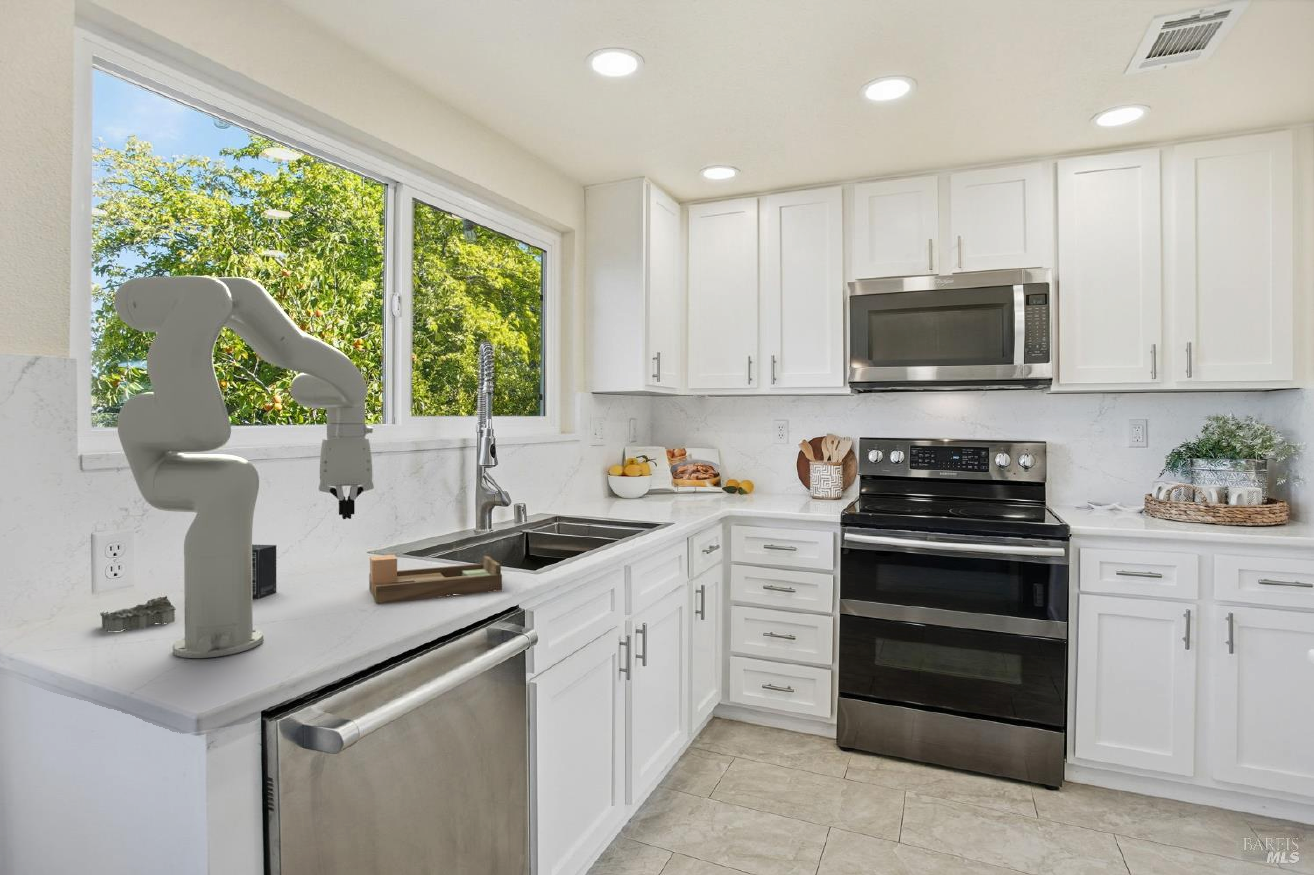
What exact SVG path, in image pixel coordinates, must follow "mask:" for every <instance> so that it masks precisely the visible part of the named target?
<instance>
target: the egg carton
mask: <svg viewBox="0 0 1314 875" xmlns="http://www.w3.org/2000/svg"><path fill="white" fill-rule="evenodd" d="M176 610H177V608H176V607H175V606H174V605H172V603H171V601H170V600H169V598H168V596H167V595H165V596H159V597H156V598H153V599H150V600H147V602H146V603H145V604H144V603H143V604H137V605H136V606H134V607H130V608H122V609H119V610H116V611H113V612H112V611H111V612H109V611H107V612H104V611H102V612H100V613H99V614H100V615H99V616H100V617H101V629H104V632H105V631H106V632H105V633H109V632H108V631H121V630H123V629H126V630H129V629H128V628H131V629H139V628H140V629H144V627H146V628H148V627H149V626H148V625H150V624H155V623H161V624H160V625H162V624H164V623H169V622H170V623H172V622H171V621H173V622H175V620H176V619H175V618H176V616H175V613H176V612H175V611H176ZM170 623H169V624H170ZM155 625H156V624H155ZM164 625H165V624H164ZM150 626H151V625H150Z"/></svg>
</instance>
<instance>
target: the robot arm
mask: <svg viewBox="0 0 1314 875" xmlns="http://www.w3.org/2000/svg"><path fill="white" fill-rule="evenodd" d="M113 303H114V304H113V305H114V308H115V312H116V314H117V316H118V317H119V318H120V320H121V321H122V322H123V323H125V325H127V326H128V327H130V328H131V329H133V330H136V331H140V332H143V333H156V335H155V336H154V338H153V340H152V342H151V344H150V347H149V349H148V352H147V355H146V356H147V358H146V370H147V374H148V377H149V382H150V384H151V389H152V391H148V392H142V393H141V392H140V393H138V394H135V395H133V396H132V397H130V398H128V399H127V400H126V401H125V403H123V404H122V407H121V408H120V411H119V413H118V417H117V425H116V426H117V433H118V438H119V441H120V444H121V447H122V450H123V452H124V454H125V457H126V460H127V463H128V465H129V467H130V470H131V472H132V475H133V477H134V480H135V482H136V485H137V488H138V490H139V492H140V494H141V495H142V498H143V499H144V500H145V502H147V503H148V504H149V505H150V506H151V507H153V508H155V509H157V510H159V511H166V512H175V513H177V512H179V513H196V515H195V517H194V519H193V521H192V522H191V524H190V526H189V527H188V530H187V532H186V534H185V538H184V543H183V556H184V559H183V561H184V563H183V564H184V568H183V569H184V572H183V573H184V574H183V578H184V584H183V585H184V588H183V589H184V637H183V638H181V639H179V640H178V641H176V642H175V643H174V644H173V646H172V654H174V655H175V656H177V657H180V658H185V659H206V658H216V657H217V658H218V657H222V656H223V657H224V656H229V655H235V654H238V653H241V652H245V651H249V650H251V649H253V648H254V649H255V648H256V647H258V646H259V645H260V644H262V642H263V641H264V634H263V632H262V631H260V630H258V629H254V628H253V623H254V622H253V598H252V545H253V525H254V522H253V521H254V514H255V513H254V512H255V509H256V503H257V499H258V496H259V495H258V494H259V490H260V477H259V473H258V471H257V469H256V467H255V466H254V465H253V464H252V463H251V462H250V461H249V460H247V459H244V458H242V457H240V456H237V455H233V454H219V453H218V454H215V453H214V454H212V453H211V454H210V453H200V452H210V451H214V450H218V449H220V448H221V447H224V446H225V445H226V444H227V443H228V442H229V440H230V438H231V434H232V426H231V420H230V417H229V412H228V410H227V406H226V402H225V400H224V397H223V394H222V390H221V388H220V384H219V381H218V377H217V373H216V370H215V366H214V358H213V356H214V349H215V346H216V342H217V340H218V338H219V336H220V334H221V332H222V330H223V329H224V328H226V329H227V328H228V329H231V330H232V331H233V332H234V333H236V335H237V336H239V337H240V339H242V341H243V342H245V343H246V344H247V346H249V347H250V348H251V350H253V351H254V353H255V354H256V355H258V356H259V358H260V359H262V361H264V362H266V363H267V364H269V365H272V366H275V367H277V368H281V369H284V370H289V371H293V372H297V373H298V374H297V375H296V376H294V377H293V379H292V381H291V382H290V385H289V386H290V388H289V392H290V394H291V395H290V396H291V398H292V399H293V400H294V402H295V403H296V404H298V405H299V406H301V407H304V408H307V409H309V408H310V409H326V438H323V439H322V442H321V447H320V454H319V455H320V456H319V457H320V458H319V460H320V461H319V481H320V482H319V486H318V491H319V492H323V493H329V494H332V495H333V497H335V498H336V499H337V500H338V515H339V516H341V517H342V520H347V519H348V520H350V519H352V515H355V508H356V507H355V500H356V499H357V498H358V497H359V496H360V495H361V494H362V493H363V492H367V491H370V490H373V489H374V488H375V487H374V483H373V460H372V459H373V458H372V452H371V451H372V450H371V443H370V440H369V438H366V436H367V435H369V434H373V429H374V428H373V426H367V425H366V398H367V396H368V385H367V383H366V380H365V378H364V376H363V374H362V373H361V371H360V369H359V368H358V367H357V366H356V365H355V364H354V362H353V361H352V360H351V359H350V358H349V356H347V355H346V354H345V353H344V352H342V351H340V350H339V349H338V348H335V347H334V346H332V345H330V344H329V343H326V342H325V341H323V340H320V339H319V338H317V337H315V336H312V334H309V333H306V332H305V331H303V330H301V329H300V328H299V327H298V325H297V324H296V323H295V322H294V321H293V320H292V319H291V318H290V317H289V315H288V314H287V313H286V312H285V311H284V309H283V308H282V307H281V306H280V304H278V302H277V301H276V300H275V299H274V298H273V297H272V295H271V294H270V293H269V291H267V290H266V289H265V287H263V285H261V283H259V282H257V281H256V280H254V279H252V278H248V277H241V276H240V277H239V276H229V277H228V276H227V277H226V276H225V277H223V276H221V277H210V276H204V275H171V276H149V277H148V276H144V277H134V278H130V279H128V280H127V281H125V282H123V283H122V284H120V286H119V287H118V289H117V290H116V292H115V295H114V300H113ZM187 453H188V454H187ZM189 453H190V454H189ZM191 453H193V454H191ZM194 453H196V454H194ZM197 453H200V454H197ZM345 486H346V487H348V486H349V487H350V488H349V494H348V496H347V499H346V496H345V494H344V490H343V488H344V487H345Z"/></svg>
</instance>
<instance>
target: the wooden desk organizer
mask: <svg viewBox="0 0 1314 875" xmlns="http://www.w3.org/2000/svg"><path fill="white" fill-rule="evenodd" d="M482 557H483V558H482V563H473V564H464V565H451V566H441V567H439V566H437V567H429V568H416V569H404V570H397V582H387V583H376V584H372V582H371V580H370V572H369V576H368V578H369V580H368V582H369V584H368V586H369V587H368V588H369V589H368V590H369V591H370V594H371V595H372V596H371V597H373V600H374V602H375V603H376V605H377V604H385V603H395V602H394V601H397V602H403V601H413V600H414V601H415V600H424V598H425V599H432V598H431V597H435V598H440V597H439V596H445V597H448V596H447V595H453V594H464V595H471V594H482V592H483V593H489V592H488V591H493V592H495V591H494V590H502V591H503V574H502V567H501V566H502V564H500V563H499V562H497V561H496V560H494V559H493V558H492V557H490V556H488V555H483V556H482Z"/></svg>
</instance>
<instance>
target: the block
mask: <svg viewBox="0 0 1314 875" xmlns="http://www.w3.org/2000/svg"><path fill="white" fill-rule="evenodd" d="M397 571H398V558H397V557H396V555H395V554H387V555H373V556H371V555H369V573H370V580H371V582H372V584H376V583H387V582H397Z"/></svg>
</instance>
